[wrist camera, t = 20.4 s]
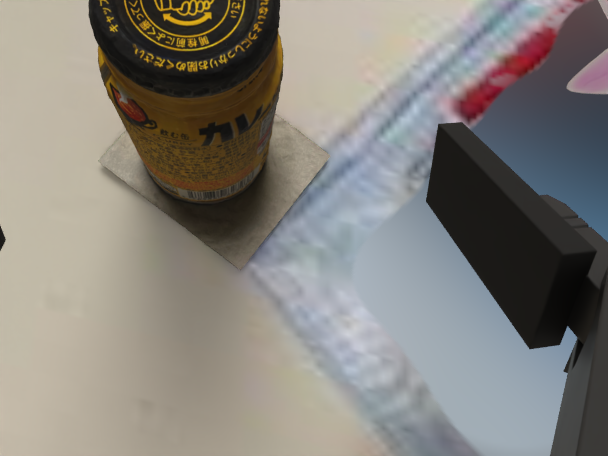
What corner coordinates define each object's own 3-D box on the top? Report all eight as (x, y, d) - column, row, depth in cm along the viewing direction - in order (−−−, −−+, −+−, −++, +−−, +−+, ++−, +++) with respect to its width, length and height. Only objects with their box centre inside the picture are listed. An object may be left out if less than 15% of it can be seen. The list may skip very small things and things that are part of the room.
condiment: (196, 55, 27) (169, -157, 15) (330, 157, 27) (405, 22, 15) (98, 162, 25) (-17, 17, 14) (240, 271, 25) (247, 219, 13)
